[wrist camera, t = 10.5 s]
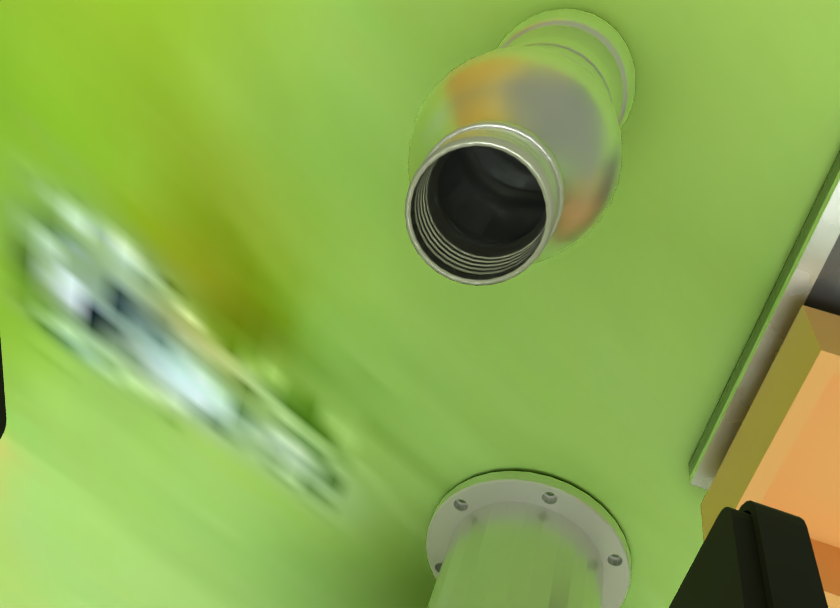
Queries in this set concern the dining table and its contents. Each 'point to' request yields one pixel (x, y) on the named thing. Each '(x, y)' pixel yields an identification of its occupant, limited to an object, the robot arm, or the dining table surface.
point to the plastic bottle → (520, 148)
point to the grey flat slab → (777, 324)
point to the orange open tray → (793, 443)
